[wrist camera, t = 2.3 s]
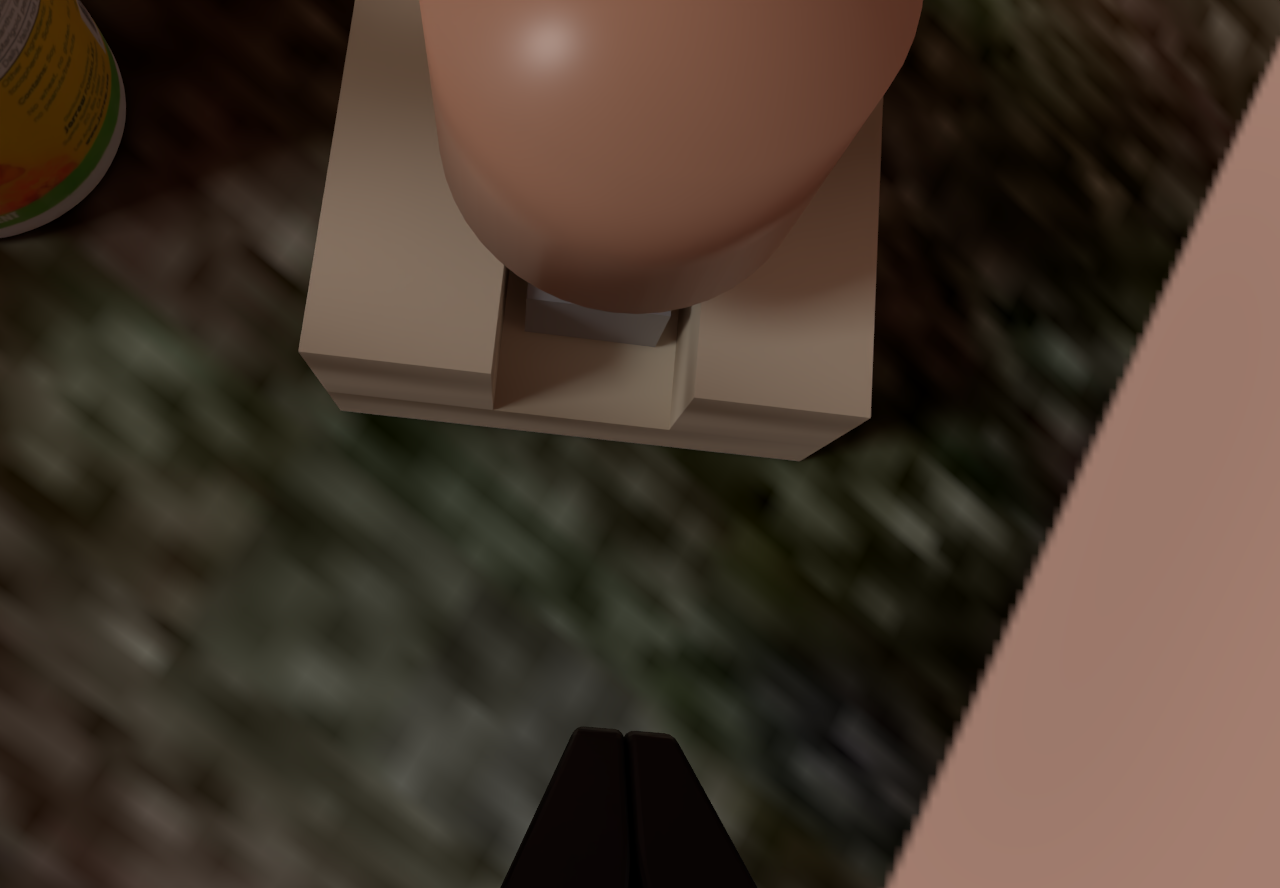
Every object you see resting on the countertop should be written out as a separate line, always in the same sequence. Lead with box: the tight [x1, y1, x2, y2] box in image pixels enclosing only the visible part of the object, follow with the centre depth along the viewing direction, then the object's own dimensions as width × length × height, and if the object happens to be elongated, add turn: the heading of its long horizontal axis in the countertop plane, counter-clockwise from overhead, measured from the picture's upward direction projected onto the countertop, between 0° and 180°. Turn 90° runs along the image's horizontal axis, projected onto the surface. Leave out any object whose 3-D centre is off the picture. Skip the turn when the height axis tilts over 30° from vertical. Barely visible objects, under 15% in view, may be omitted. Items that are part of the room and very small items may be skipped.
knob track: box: [298, 0, 883, 461], centre depth 18 cm, size 9×9×4 cm
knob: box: [419, 0, 923, 347], centre depth 14 cm, size 5×5×9 cm
